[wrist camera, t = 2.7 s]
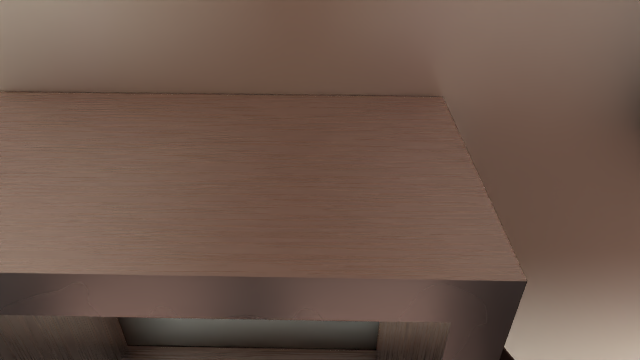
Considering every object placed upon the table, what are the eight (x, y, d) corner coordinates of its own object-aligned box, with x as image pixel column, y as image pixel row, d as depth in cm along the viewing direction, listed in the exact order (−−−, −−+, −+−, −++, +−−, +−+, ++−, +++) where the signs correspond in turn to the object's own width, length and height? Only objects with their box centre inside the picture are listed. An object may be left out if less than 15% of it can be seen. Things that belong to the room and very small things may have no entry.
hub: (398, 365, 12) (425, 566, 8) (109, 360, 12) (23, 556, 9) (442, 96, 8) (528, 281, 4) (-1, 91, 8) (-246, 268, 4)
